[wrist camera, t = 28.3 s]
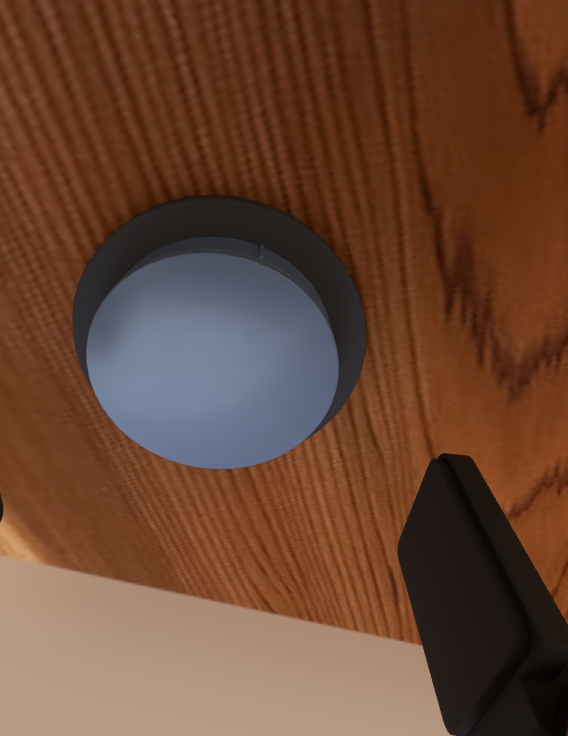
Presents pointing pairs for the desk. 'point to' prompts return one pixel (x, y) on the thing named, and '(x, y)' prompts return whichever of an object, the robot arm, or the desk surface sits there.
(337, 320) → the coaster
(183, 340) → the jar lid
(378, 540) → the desk surface
